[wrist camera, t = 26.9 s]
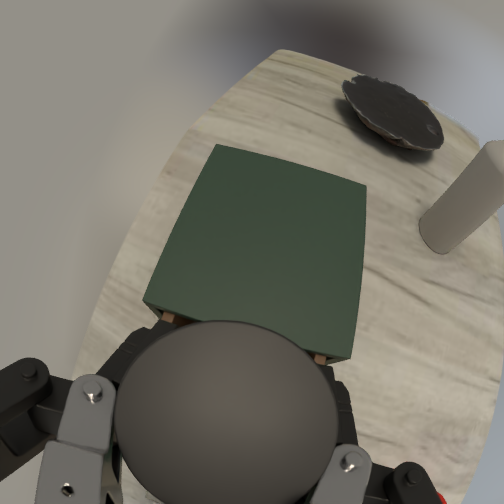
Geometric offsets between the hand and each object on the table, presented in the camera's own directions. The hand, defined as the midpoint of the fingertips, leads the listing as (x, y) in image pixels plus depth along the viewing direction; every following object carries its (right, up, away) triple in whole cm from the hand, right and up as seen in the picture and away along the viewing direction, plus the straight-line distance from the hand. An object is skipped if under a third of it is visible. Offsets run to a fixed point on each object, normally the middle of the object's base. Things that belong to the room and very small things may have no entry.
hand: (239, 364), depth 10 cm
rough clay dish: (+26, +28, +35) cm, 52 cm away
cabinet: (+1, +1, +19) cm, 19 cm away
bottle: (+27, +7, +24) cm, 37 cm away
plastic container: (-1, -4, +3) cm, 5 cm away
